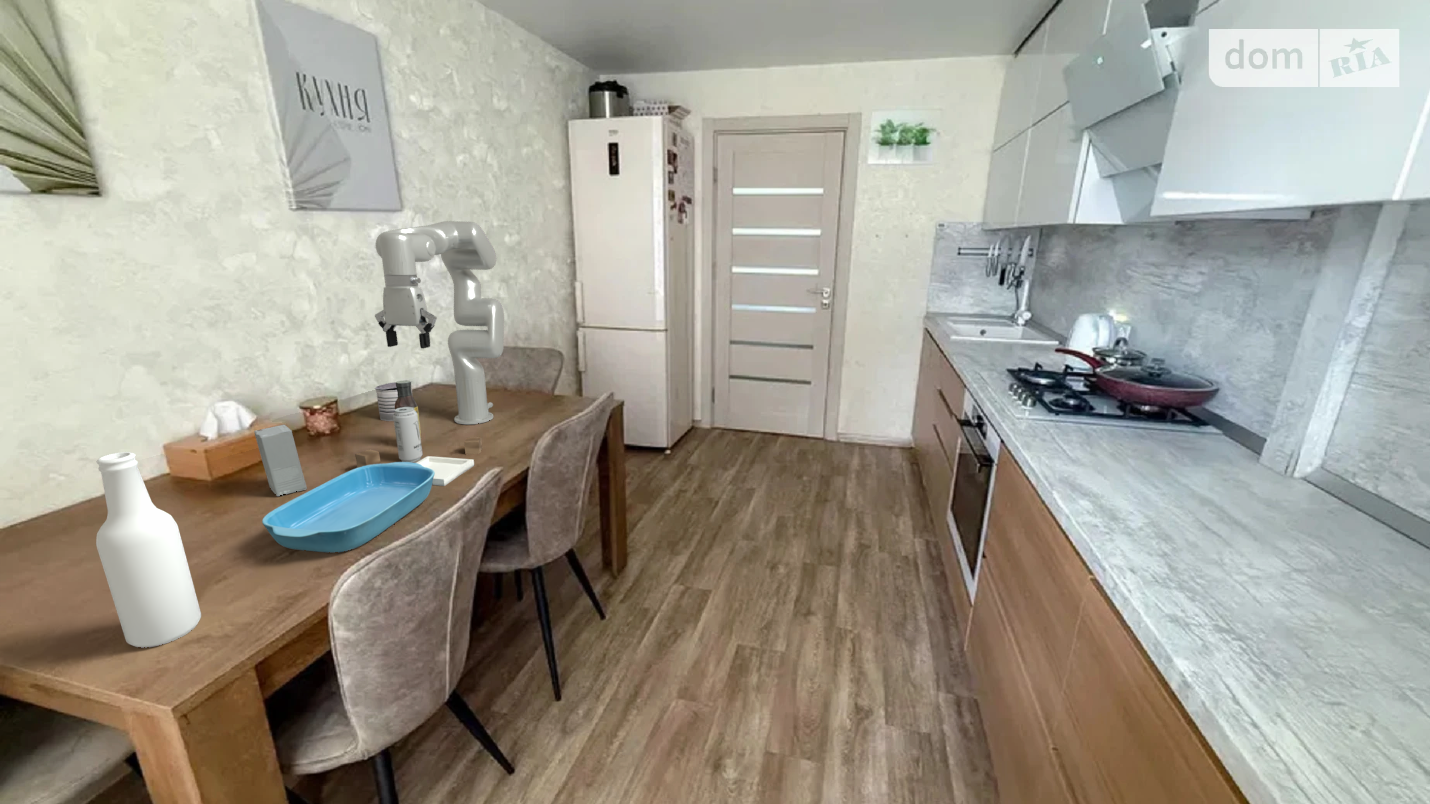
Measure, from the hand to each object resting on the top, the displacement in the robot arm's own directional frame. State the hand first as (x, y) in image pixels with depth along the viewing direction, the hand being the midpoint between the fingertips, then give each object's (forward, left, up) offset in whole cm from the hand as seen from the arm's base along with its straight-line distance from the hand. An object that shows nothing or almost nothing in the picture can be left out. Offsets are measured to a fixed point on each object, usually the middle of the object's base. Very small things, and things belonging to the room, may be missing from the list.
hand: (409, 346), depth 152 cm
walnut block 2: (-10, +9, -33) cm, 36 cm away
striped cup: (-37, -36, -33) cm, 61 cm away
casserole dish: (+34, +8, -34) cm, 49 cm away
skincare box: (+23, -22, -33) cm, 46 cm away
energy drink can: (-1, -5, -33) cm, 34 cm away
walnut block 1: (+8, -11, -33) cm, 36 cm away
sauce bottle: (-12, -13, -33) cm, 37 cm away
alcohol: (+73, +5, -33) cm, 81 cm away
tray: (+7, +8, -33) cm, 35 cm away
